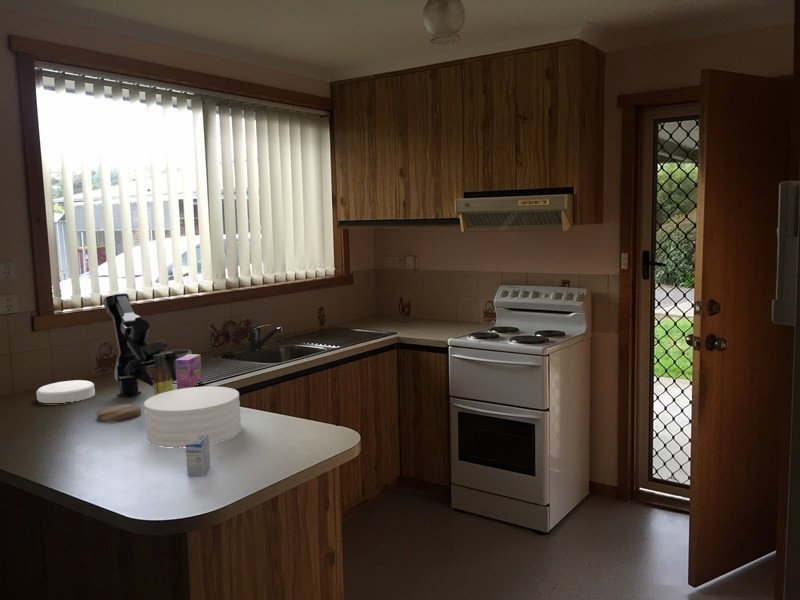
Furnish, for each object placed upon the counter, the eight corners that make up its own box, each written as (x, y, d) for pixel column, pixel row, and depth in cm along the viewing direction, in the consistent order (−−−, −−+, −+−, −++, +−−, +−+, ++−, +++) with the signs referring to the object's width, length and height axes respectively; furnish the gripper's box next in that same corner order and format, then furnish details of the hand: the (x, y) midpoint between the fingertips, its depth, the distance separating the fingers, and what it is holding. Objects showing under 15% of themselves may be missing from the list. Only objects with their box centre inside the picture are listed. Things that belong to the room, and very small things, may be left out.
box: (190, 389, 272) (188, 359, 271) (176, 389, 273) (174, 359, 272) (202, 382, 282) (200, 354, 281) (189, 382, 283) (187, 354, 282)
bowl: (189, 378, 290) (187, 355, 289) (153, 380, 290) (151, 356, 289) (199, 370, 305) (198, 348, 304) (165, 371, 305) (164, 349, 304)
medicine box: (193, 466, 187) (191, 435, 186) (210, 465, 188) (208, 434, 187) (187, 477, 179) (184, 444, 178) (205, 476, 180) (202, 443, 179)
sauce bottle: (178, 407, 246) (174, 352, 243) (167, 412, 240) (162, 356, 238) (162, 406, 248) (158, 351, 246) (151, 411, 242) (146, 355, 240)
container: (59, 407, 254) (57, 394, 253) (25, 401, 264) (24, 389, 263) (106, 394, 271) (105, 382, 270) (73, 389, 281) (72, 377, 280)
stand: (87, 419, 235) (87, 413, 235) (120, 408, 248) (120, 403, 248) (117, 423, 229) (117, 417, 229) (149, 412, 242) (149, 406, 242)
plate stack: (126, 444, 208) (123, 407, 207) (187, 417, 234) (184, 384, 233) (204, 453, 198) (201, 413, 197) (258, 424, 224) (256, 389, 222)
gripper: (126, 338, 236) (149, 373, 231) (172, 329, 251) (195, 362, 246) (114, 359, 241) (137, 393, 236) (160, 349, 256) (182, 381, 251)
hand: (163, 382), depth 242 cm, fingers open, 9 cm apart
